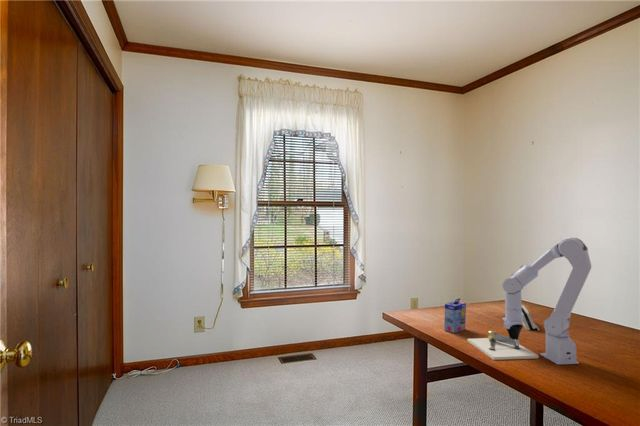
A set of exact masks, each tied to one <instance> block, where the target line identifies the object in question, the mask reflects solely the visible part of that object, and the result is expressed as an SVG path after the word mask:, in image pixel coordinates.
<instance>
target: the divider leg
mask: <svg viewBox="0 0 640 426" xmlns="http://www.w3.org/2000/svg"><path fill="white" fill-rule="evenodd" d="M487 338H488V339H490V340H496V341H499V342H503V343H506V344H510V345H513V346H515V347H517V348H519V345H520V339H519V338H518V339H515V338H512V337H510V336H509V335H508V336H507V335H505V334H504V335H503V334H500V333H498V332H497V331H496V330H492V329H491V330H489V329H488V330H487Z"/></svg>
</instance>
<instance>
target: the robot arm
mask: <svg viewBox="0 0 640 426" xmlns="http://www.w3.org/2000/svg"><path fill="white" fill-rule="evenodd" d="M563 257H564V258H565V259H566V260H567V261H568V262H569V264H570V265H571V267H572V269H571V271H570V273H569V275H568V278H567V281H566V283H565V285H564V287H563V290H562V291H561V294H560V296H559V299H558V301H557V303H556V305H555V307H554V309H553V310H552V312H551V314H550V316H549V317H548V318H546V319H545V320H544V322H543V328H544V330H545V331H544V332H545V352H542V353H541V352H540V353H539V355H540V356H542V357H543V358H545V359H547V360H548V361H551V362H552V363H554V364H556V365H578V364H579V363H580V362H579V361H577V360H578V359H577V344H576V343H575V342H574V340H572V339H571V337H570V333H569V331H568V329H569V328H570V327H571V322H570V321H571V320H570V318H571V316H572V311H573V308H574V307H575V305H576V302H577V300H578V298H579V296H580V293H581V291H582V289H583V287H584V285H585V283H586V281H587V279H588V276H589V274H590V273H591V272H590V271H591V269H592V262H591V259H590V256H589V250H588V246H587V245H586V243H584V241H583V240H581V239H580V238H578V237H570V238H565V239H562V240H561V241H560V242H559V243H556V244H554V245H553V246H552V247H549V249H547V251H545V252H544V253H543V254H542V255H541V256H540V257H538V258H537V259H536V260H535V261H533V262H532V263H531V264H528V263H527V264H524V265H523V264H522V265H519V269H518V270H517V271H516V272H515V273H511V274H510V277H507V278H505V279H504V280H503V283H502V289H503V290H504V309H505V310H504V311H505V313H504V315H505V317H502V320H503V321H504V322H503V328H504V329H506V331H507V332H508V333H507V334H508V337H512V338H515V339H519V338H520V334H521V331H522V329H523V328H524V326H523V324H522V322H523V317H522V305H523V304H522V303H523V302H522V290H523V289H524V287H526V286H527V285H528V284H530V283H531V282H533V280H535V279H537V278H538V276H539V271H541V269H542V268H545V267H546V266H547V265H548V264H550V263H551V262H552V261H554V260H555V259H559V258H563Z"/></svg>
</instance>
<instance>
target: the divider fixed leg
mask: <svg viewBox="0 0 640 426" xmlns="http://www.w3.org/2000/svg"><path fill="white" fill-rule="evenodd" d="M490 349H491V350H494V341H490Z"/></svg>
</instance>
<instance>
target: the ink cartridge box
mask: <svg viewBox="0 0 640 426" xmlns="http://www.w3.org/2000/svg"><path fill="white" fill-rule="evenodd" d="M460 300H461V298H460V297H459V298H456V299H455V301H451V302H447V303H445V304H444V331H447V332H449V333H452V334H456V333H458V332H462V331H464V330H466V322H467V321H466V318H467V317H466V311H467V308H466V306H467V303H466V302H463V301H460Z"/></svg>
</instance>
